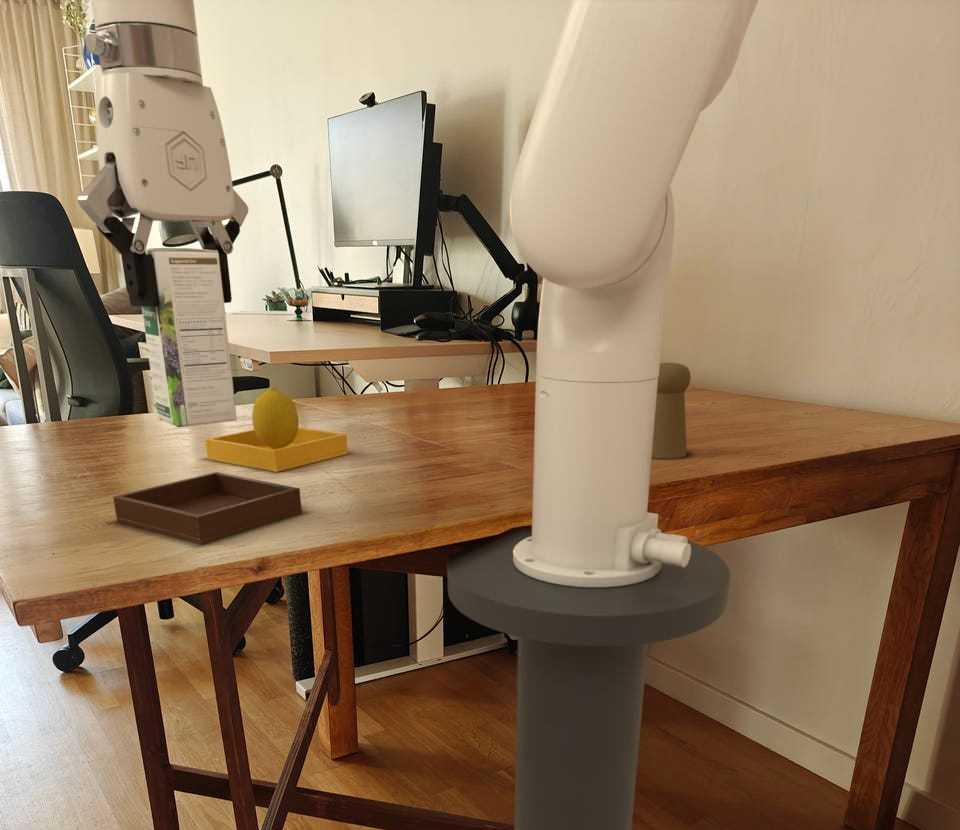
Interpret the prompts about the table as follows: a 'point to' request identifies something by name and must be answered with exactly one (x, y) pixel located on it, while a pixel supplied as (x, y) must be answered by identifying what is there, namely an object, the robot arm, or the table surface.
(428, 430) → the table surface
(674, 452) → the cork
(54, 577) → the table surface
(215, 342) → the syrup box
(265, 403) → the lemon
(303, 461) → the yellow tray
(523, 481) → the table surface
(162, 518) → the brown tray
